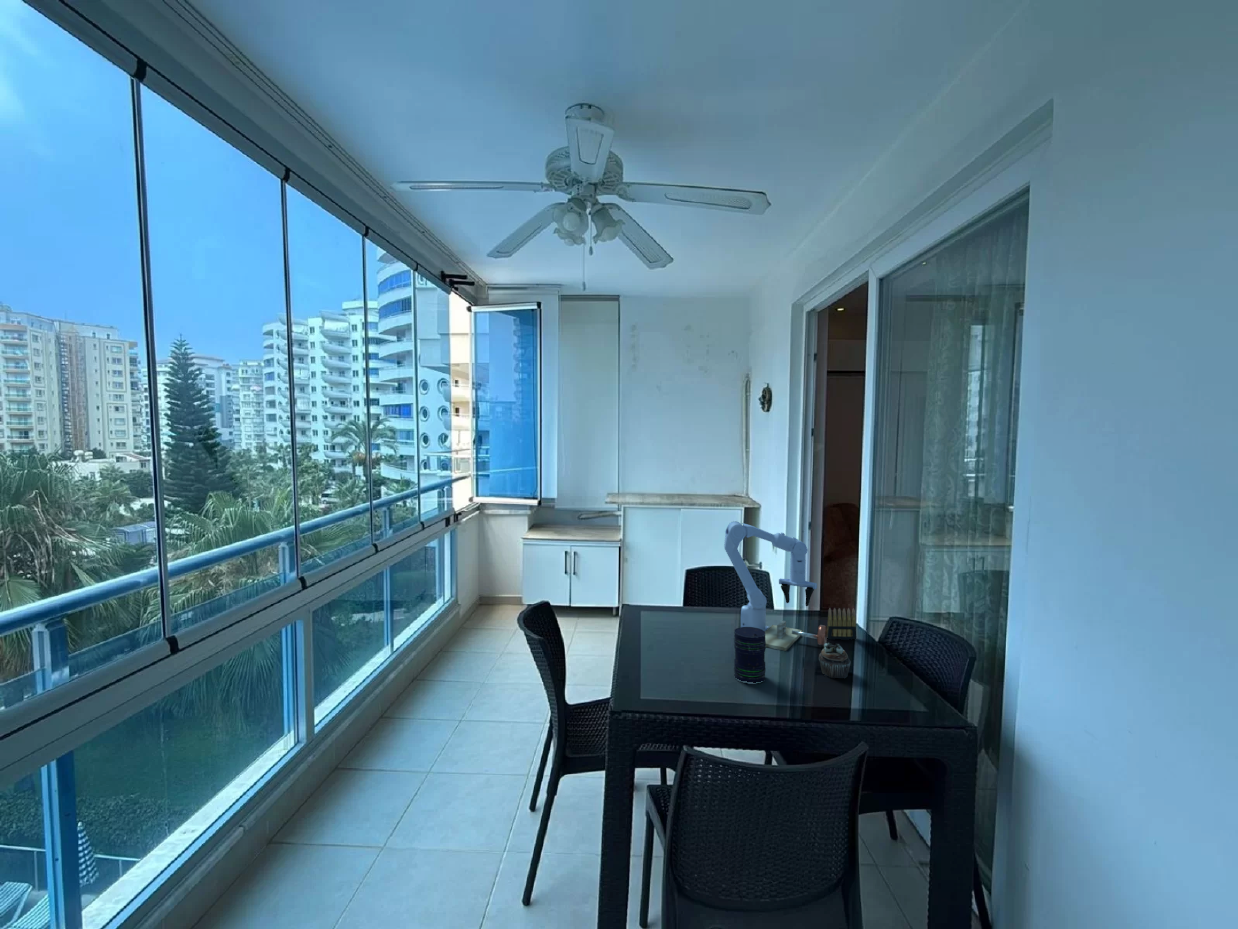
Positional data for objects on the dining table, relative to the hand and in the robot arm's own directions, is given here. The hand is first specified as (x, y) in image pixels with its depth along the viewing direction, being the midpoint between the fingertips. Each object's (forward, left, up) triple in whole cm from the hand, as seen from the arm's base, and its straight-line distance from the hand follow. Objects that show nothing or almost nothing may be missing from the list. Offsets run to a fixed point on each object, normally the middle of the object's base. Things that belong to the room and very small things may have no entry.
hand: (797, 604), depth 222 cm
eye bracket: (-2, -14, -10) cm, 18 cm away
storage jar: (0, -54, -11) cm, 55 cm away
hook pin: (+8, -14, -9) cm, 19 cm away
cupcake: (+22, -36, -11) cm, 44 cm away
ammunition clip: (+17, -1, -11) cm, 20 cm away
